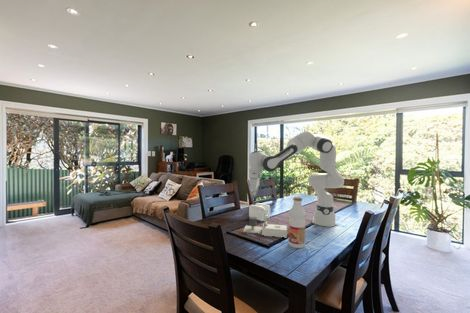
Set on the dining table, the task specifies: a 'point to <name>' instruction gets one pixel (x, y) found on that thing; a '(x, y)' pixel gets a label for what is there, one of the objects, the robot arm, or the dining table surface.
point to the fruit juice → (297, 224)
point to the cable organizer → (259, 211)
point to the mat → (249, 230)
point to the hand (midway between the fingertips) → (255, 194)
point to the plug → (253, 222)
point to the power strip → (274, 230)
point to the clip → (265, 218)
